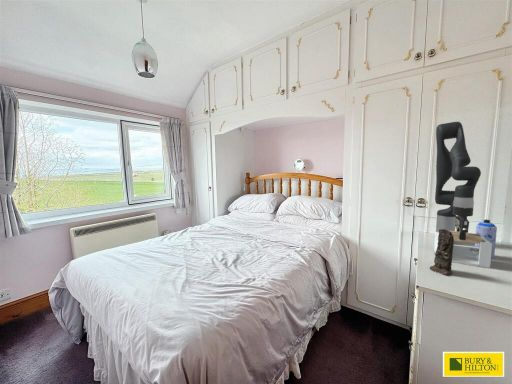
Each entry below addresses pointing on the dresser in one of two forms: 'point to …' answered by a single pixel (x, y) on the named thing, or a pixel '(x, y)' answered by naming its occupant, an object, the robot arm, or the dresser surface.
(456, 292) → the dresser surface
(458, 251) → the cabinet bay
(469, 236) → the shelf board
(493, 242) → the aerosol can
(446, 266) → the statue
